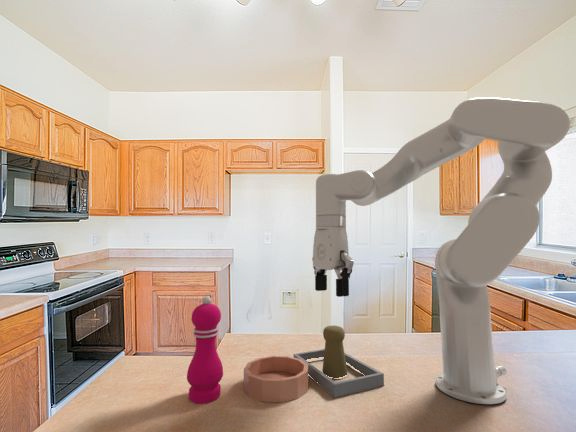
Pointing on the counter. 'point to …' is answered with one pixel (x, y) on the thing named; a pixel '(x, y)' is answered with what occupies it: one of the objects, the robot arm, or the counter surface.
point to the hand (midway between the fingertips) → (331, 293)
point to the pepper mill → (205, 355)
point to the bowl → (276, 378)
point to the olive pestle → (334, 352)
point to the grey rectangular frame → (345, 387)
